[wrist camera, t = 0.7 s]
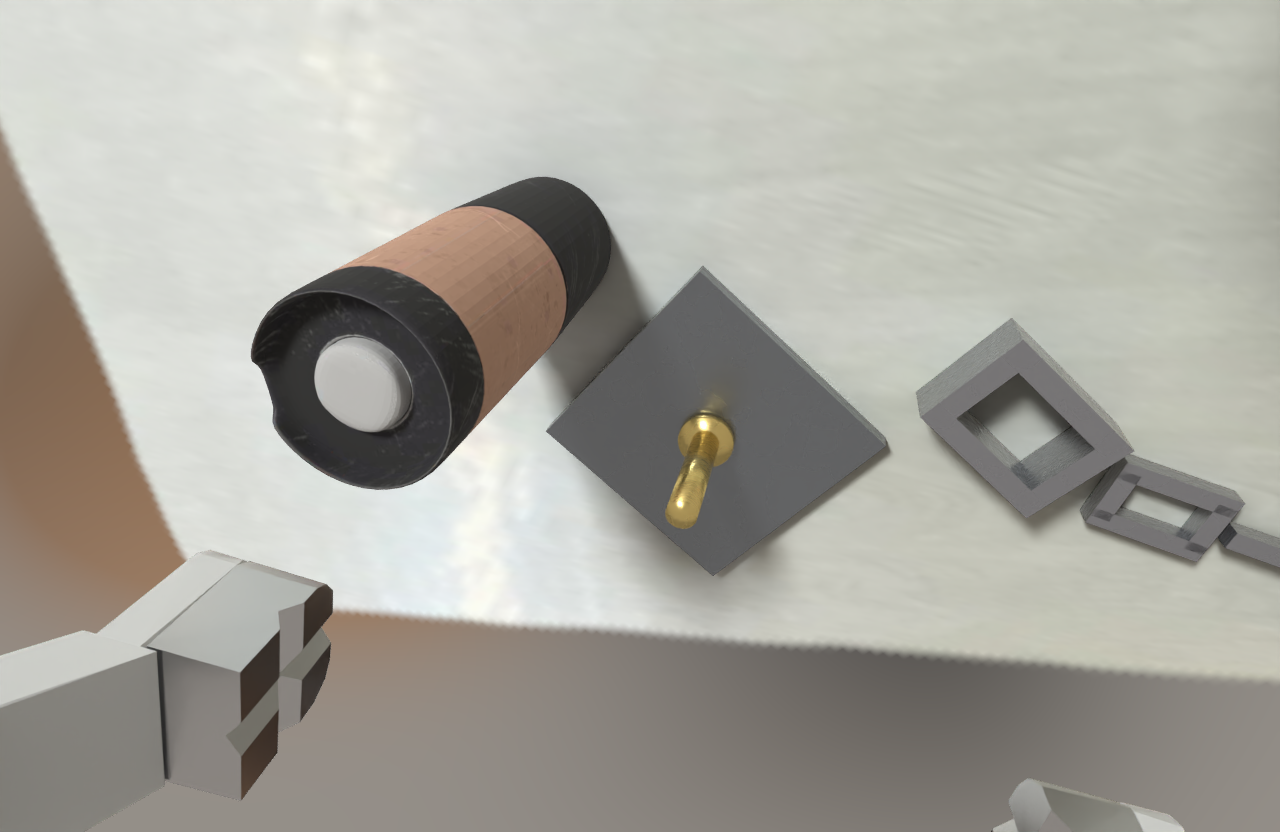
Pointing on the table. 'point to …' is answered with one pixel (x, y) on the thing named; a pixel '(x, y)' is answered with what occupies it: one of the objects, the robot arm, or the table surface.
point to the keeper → (714, 426)
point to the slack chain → (1186, 541)
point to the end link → (1017, 481)
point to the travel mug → (428, 331)
